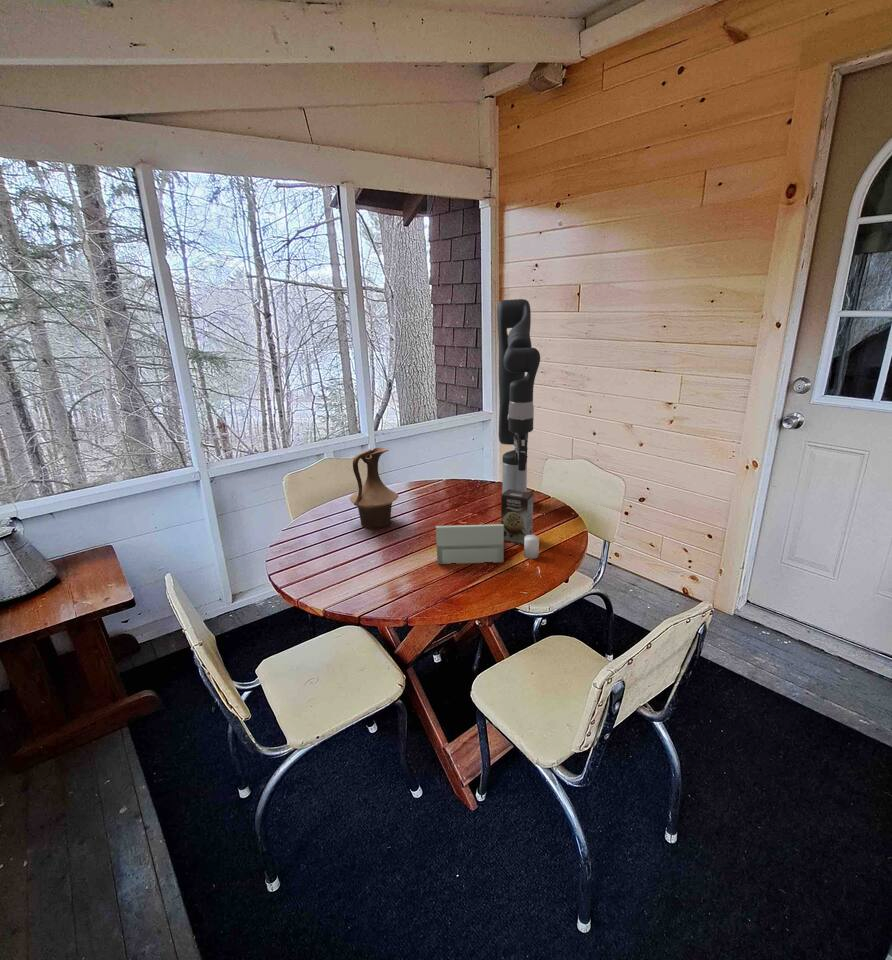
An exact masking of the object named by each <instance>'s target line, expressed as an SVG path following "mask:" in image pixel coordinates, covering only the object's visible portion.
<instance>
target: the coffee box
mask: <svg viewBox="0 0 892 960" xmlns="http://www.w3.org/2000/svg"><path fill="white" fill-rule="evenodd" d="M534 495H535V493H534V492H530V491H528V492H527V491H526V492H524V491H517V490H510V489H508V490H507V491H505V492H504V493H503V494H502V493H501V496H500V497H501V500H500V501H501V506H500V508H501V509H500V512H501V513H500V524H503V525H504V542H509V541H510V543H515V542H516V544H520V543H521V544H520V545H524V537H525V536H526V535H533V521H534V520H533V517H534V515H533V514H534Z"/></svg>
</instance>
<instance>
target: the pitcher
mask: <svg viewBox="0 0 892 960" xmlns="http://www.w3.org/2000/svg"><path fill="white" fill-rule="evenodd" d="M388 451H389V449H388V448H385V447H374V448H373V449H370V448H369V449H366V450H364V451H362V452H359V453H357V454H356V455H355V456H354V457H353V460H352V471H353V474H354V477H355V479H356V481H357V482H356V483H357V486H358V490H357V491H356V492H354V493H353V494H352V495H351V496H350V497H349V501H350V502H351V504H353V505H354V506H355V507H357V510H358V514H359V519H360V525H361V526H362V527H363V528H365V529H369V530H377V529H383V528H386V527H388V526H390V525H391V523H392V519H391V518H392V516H391V515H392V508H393V507H392V505H393V503H394V502H395V501H396V500H397V499H399V494H398V493H397V492H395V491H393V490H392V489H390V488H389V487H388V486H386V485H385V484H384V483H383V481H382V480H381V478H380V474H379V459H380V458H381V456H382V454H384V453H386V452H388ZM360 460H362V461H363V462H364V463H365V464H366V468H367V469H366V470H367V471H366V472H367V474H366V475H367V476H366V479H365V482H364V484H363V483H362V478H361V474H360V471H359V461H360Z"/></svg>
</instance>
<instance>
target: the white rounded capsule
mask: <svg viewBox="0 0 892 960" xmlns="http://www.w3.org/2000/svg"><path fill="white" fill-rule="evenodd" d="M523 546H524V547H523V556H524V557H525V558H526V559H530V560H534V559H537V558H539V551H540V549H539V548H540V547H539V546H540V537H539V536H538V535H535V534H532V535H526V536H525V537H524V544H523Z"/></svg>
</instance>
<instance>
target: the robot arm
mask: <svg viewBox="0 0 892 960" xmlns="http://www.w3.org/2000/svg"><path fill="white" fill-rule="evenodd" d="M496 308H497V310H496V318H497V319H496V320H497V335H498V392H499V396H498V397H499V410H498V412H499V414H498V441H499V443H500V444H502V445H509V446H511V445H513V446H514V449H513V450H510V451H507V452H505V453H504V454H503V455H502V459H501V460H502V482H501V483H502V489H501V490H502V491H501V492H502V493H501V495H502V494H503V493H504V492H505V491H507V490H508V489H510V490H517V491H524V492H527V487H528V486H527V484H528V483H527V482H528V481H527V480H528V479H527V478H528V448H529V447H528V443H529V433H531V432H532V431H533V430H534V413H535V412H534V409H535V408H534V387H535V386H534V385H535V380H536V376H537V373H538V369H539V366H540V363H541V355H540V351H539V350H538V349H537V348H535V347H532V346H533V345H532V340H531V334H530V333H531V326H532V325H531V324H532V323H531V322H532V320H531V319H532V317H531V316H532V311H531V305H530V302H529V300H527V299H523V298H519V299H517V298H516V299H503V300H502V299H501V300H499V302H498V304H497V307H496ZM508 329H510V330H509V333H508ZM526 373H527V374H526Z"/></svg>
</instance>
